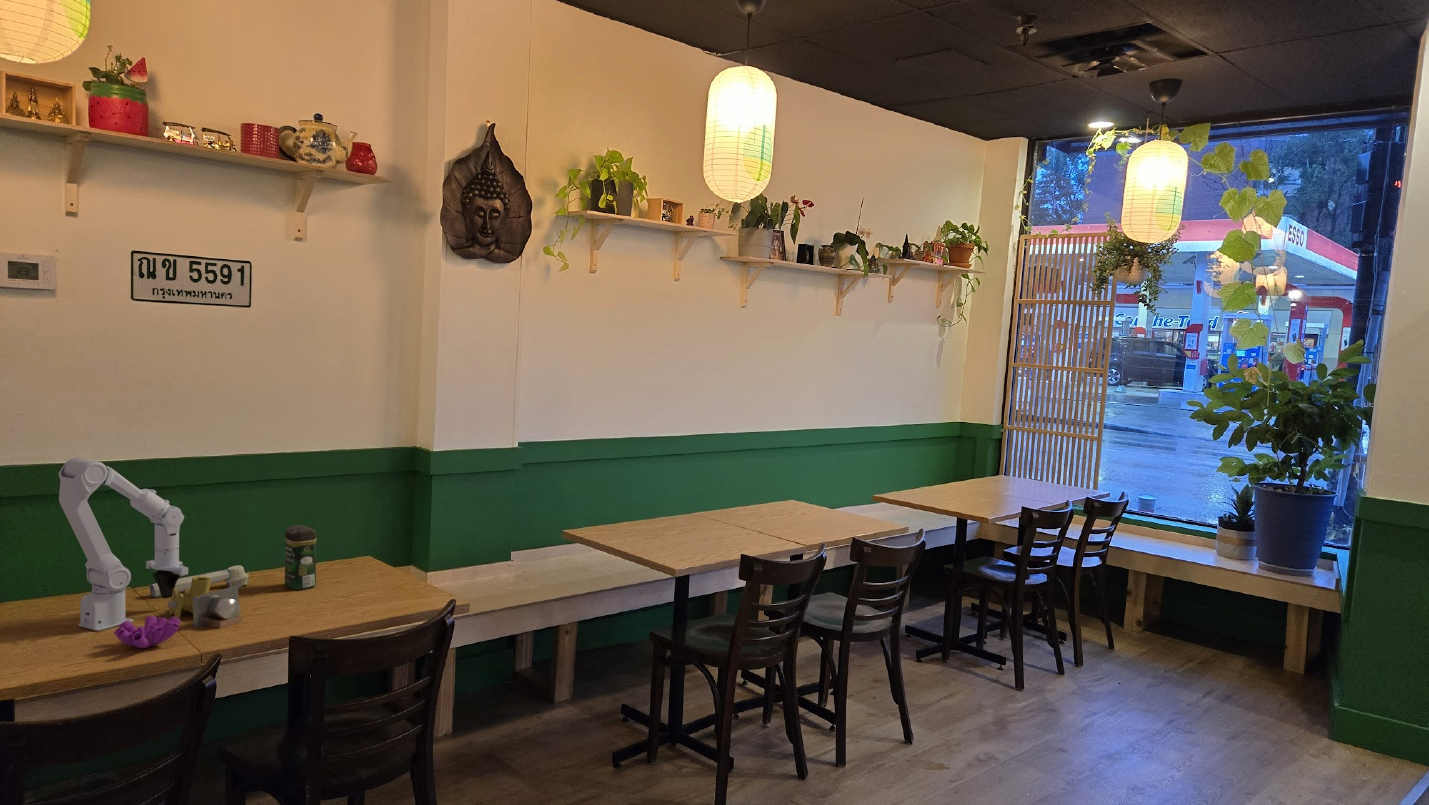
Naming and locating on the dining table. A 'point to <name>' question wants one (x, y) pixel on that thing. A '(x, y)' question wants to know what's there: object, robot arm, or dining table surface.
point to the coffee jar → (300, 557)
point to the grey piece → (230, 576)
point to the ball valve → (188, 595)
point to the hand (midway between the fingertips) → (166, 597)
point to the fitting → (217, 608)
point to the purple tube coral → (147, 631)
